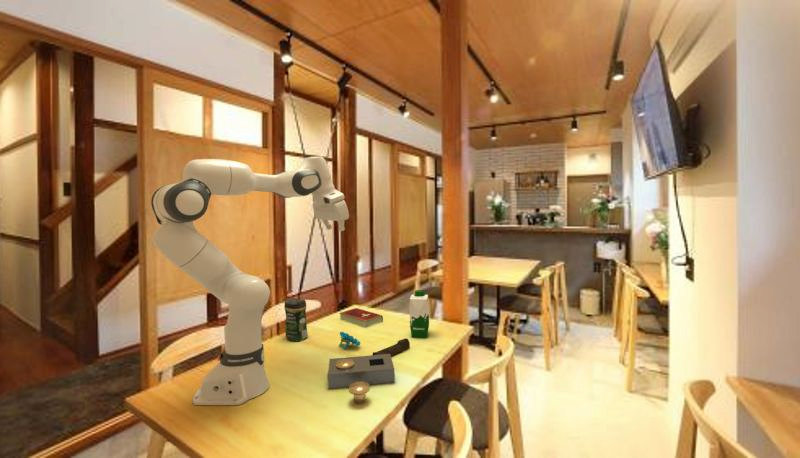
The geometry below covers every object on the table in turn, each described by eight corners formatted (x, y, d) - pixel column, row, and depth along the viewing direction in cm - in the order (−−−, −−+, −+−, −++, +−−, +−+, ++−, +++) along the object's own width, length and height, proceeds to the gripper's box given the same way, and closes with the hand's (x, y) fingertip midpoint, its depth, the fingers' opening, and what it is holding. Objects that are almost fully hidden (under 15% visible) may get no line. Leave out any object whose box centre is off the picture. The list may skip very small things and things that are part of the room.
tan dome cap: (349, 408, 105) (348, 393, 104) (349, 396, 111) (348, 382, 111) (370, 405, 105) (370, 391, 105) (369, 394, 112) (369, 380, 112)
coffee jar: (282, 339, 161) (280, 299, 160) (296, 333, 168) (294, 295, 166) (297, 343, 156) (295, 302, 154) (310, 337, 163) (309, 297, 161)
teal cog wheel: (365, 344, 149) (349, 331, 144) (358, 357, 146) (342, 344, 141) (351, 340, 157) (335, 328, 152) (344, 352, 154) (328, 341, 150)
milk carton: (429, 331, 166) (429, 289, 164) (428, 339, 157) (427, 294, 155) (411, 331, 167) (410, 289, 165) (409, 338, 158) (408, 294, 156)
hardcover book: (356, 314, 196) (356, 307, 196) (383, 322, 182) (382, 314, 182) (339, 320, 188) (339, 312, 187) (365, 328, 173) (365, 320, 173)
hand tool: (378, 364, 133) (377, 352, 133) (371, 361, 136) (371, 349, 136) (414, 350, 146) (413, 339, 146) (407, 347, 149) (407, 336, 149)
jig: (328, 389, 116) (327, 372, 115) (330, 372, 128) (329, 356, 127) (394, 382, 119) (394, 366, 118) (390, 366, 131) (390, 351, 130)
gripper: (305, 199, 142) (316, 231, 146) (332, 199, 127) (343, 234, 131) (318, 194, 146) (328, 225, 150) (346, 193, 131) (356, 228, 135)
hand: (335, 229), depth 140 cm, fingers open, 8 cm apart
